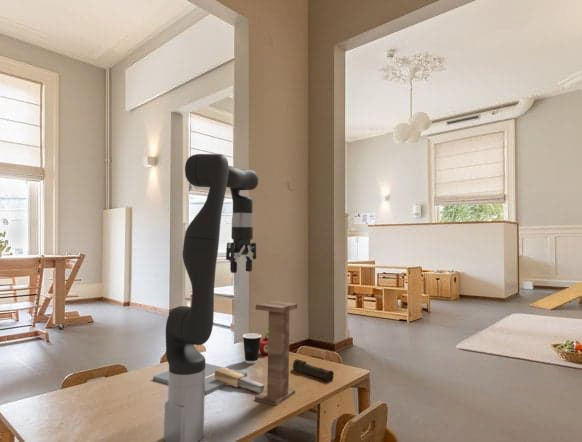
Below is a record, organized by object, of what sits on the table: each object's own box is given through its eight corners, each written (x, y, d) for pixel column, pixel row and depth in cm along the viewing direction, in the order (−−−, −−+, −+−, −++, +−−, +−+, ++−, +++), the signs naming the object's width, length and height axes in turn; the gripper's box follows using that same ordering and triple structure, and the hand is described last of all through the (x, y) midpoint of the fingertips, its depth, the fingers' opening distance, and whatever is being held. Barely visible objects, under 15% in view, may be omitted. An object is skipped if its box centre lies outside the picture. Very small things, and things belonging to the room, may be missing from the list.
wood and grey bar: (215, 370, 141) (214, 378, 141) (259, 386, 131) (258, 395, 131) (222, 367, 144) (221, 375, 144) (265, 382, 135) (264, 391, 135)
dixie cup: (259, 358, 172) (259, 332, 172) (262, 364, 164) (262, 337, 164) (241, 359, 170) (241, 333, 170) (243, 365, 162) (243, 338, 163)
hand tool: (334, 380, 146) (334, 368, 146) (327, 383, 143) (327, 370, 143) (298, 368, 159) (298, 357, 160) (290, 370, 157) (291, 359, 157)
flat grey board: (206, 394, 130) (206, 390, 130) (153, 379, 144) (153, 376, 144) (246, 375, 149) (246, 372, 149) (196, 364, 163) (196, 360, 163)
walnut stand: (278, 406, 122) (279, 308, 124) (252, 399, 127) (253, 305, 129) (297, 393, 132) (298, 303, 134) (272, 387, 137) (274, 300, 139)
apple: (270, 356, 175) (270, 333, 175) (255, 355, 176) (255, 333, 176) (273, 351, 182) (274, 330, 183) (259, 351, 183) (259, 329, 184)
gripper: (238, 225, 132) (237, 274, 131) (262, 226, 145) (261, 271, 144) (220, 225, 136) (219, 272, 135) (246, 227, 148) (245, 270, 148)
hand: (241, 272), depth 139 cm, fingers open, 8 cm apart
